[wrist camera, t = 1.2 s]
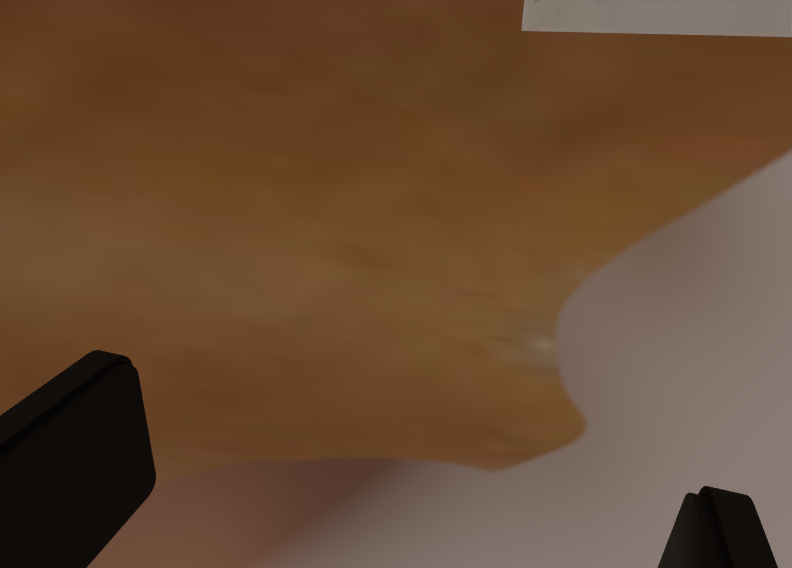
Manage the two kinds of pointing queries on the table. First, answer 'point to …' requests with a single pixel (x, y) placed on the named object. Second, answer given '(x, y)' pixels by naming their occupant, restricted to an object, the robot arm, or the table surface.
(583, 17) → the white block holder
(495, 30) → the table surface
